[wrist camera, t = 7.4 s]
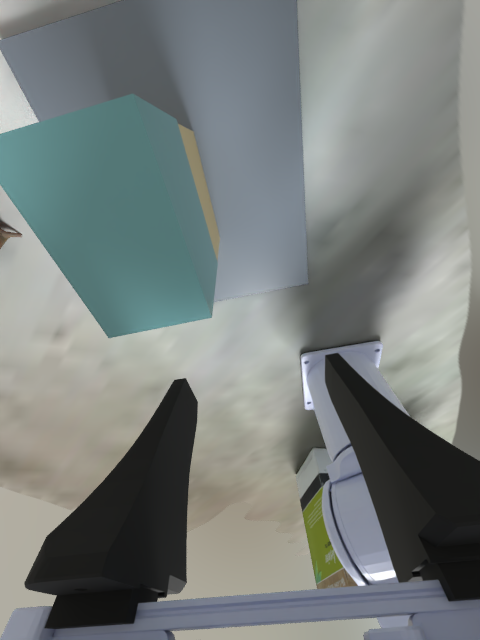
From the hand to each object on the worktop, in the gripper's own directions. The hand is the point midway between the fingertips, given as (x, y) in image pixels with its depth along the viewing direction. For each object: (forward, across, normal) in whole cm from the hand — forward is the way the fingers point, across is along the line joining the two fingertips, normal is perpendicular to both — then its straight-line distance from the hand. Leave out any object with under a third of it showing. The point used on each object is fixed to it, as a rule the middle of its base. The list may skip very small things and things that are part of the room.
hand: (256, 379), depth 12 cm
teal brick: (+4, +3, -8) cm, 9 cm away
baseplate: (+9, +2, -8) cm, 13 cm away
